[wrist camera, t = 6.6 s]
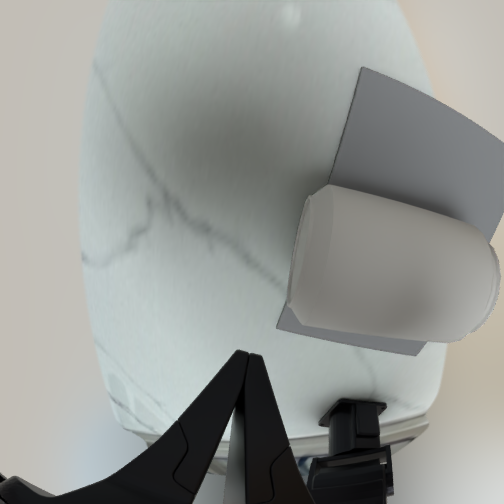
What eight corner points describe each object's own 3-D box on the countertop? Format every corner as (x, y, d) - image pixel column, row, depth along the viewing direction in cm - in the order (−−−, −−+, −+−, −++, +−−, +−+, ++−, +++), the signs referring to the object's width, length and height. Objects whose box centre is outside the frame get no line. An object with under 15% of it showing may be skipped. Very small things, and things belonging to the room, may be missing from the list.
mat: (414, 353, 23) (415, 356, 23) (276, 325, 23) (276, 328, 23) (520, 156, 13) (523, 158, 13) (361, 67, 13) (362, 66, 13)
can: (320, 151, 12) (505, 212, 12) (298, 212, 20) (443, 246, 19) (295, 321, 11) (506, 343, 10) (279, 322, 18) (436, 343, 17)
